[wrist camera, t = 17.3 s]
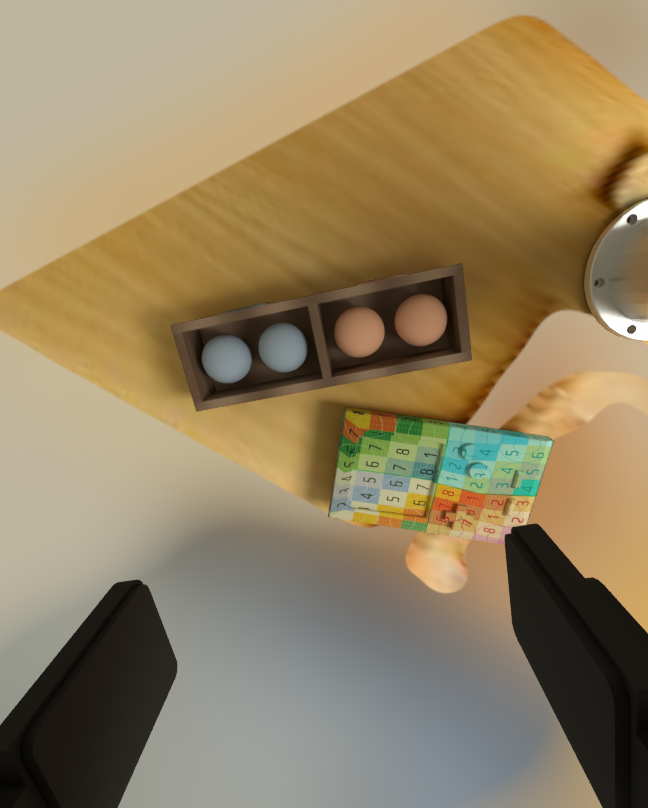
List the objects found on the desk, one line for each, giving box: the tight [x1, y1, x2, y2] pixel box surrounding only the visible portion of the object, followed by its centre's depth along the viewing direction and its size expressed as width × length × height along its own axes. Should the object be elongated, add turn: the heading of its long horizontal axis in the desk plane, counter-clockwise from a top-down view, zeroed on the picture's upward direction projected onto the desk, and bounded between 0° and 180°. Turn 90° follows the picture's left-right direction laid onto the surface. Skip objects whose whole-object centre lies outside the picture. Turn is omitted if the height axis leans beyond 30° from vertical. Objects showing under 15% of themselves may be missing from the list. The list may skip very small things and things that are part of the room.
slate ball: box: [259, 323, 308, 372], centre depth 36 cm, size 5×5×5 cm
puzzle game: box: [328, 407, 554, 545], centre depth 39 cm, size 12×5×20 cm
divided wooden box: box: [171, 263, 472, 411], centre depth 36 cm, size 25×8×5 cm, turn 101°
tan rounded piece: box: [395, 294, 447, 346], centre depth 34 cm, size 5×5×5 cm
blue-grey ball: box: [202, 335, 252, 383], centre depth 36 cm, size 5×5×5 cm
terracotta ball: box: [334, 306, 385, 357], centre depth 35 cm, size 5×5×5 cm
